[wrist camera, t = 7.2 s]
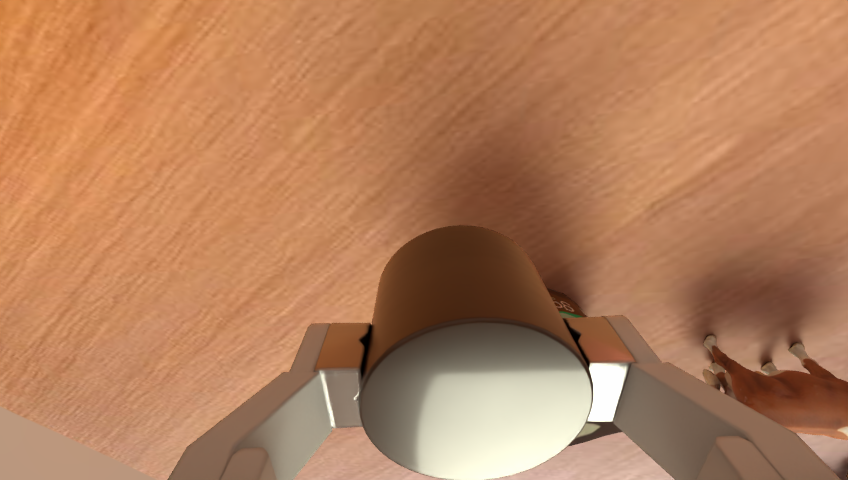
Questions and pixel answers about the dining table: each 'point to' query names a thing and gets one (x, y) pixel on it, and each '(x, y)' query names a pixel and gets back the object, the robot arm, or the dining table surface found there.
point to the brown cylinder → (470, 360)
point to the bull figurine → (785, 392)
